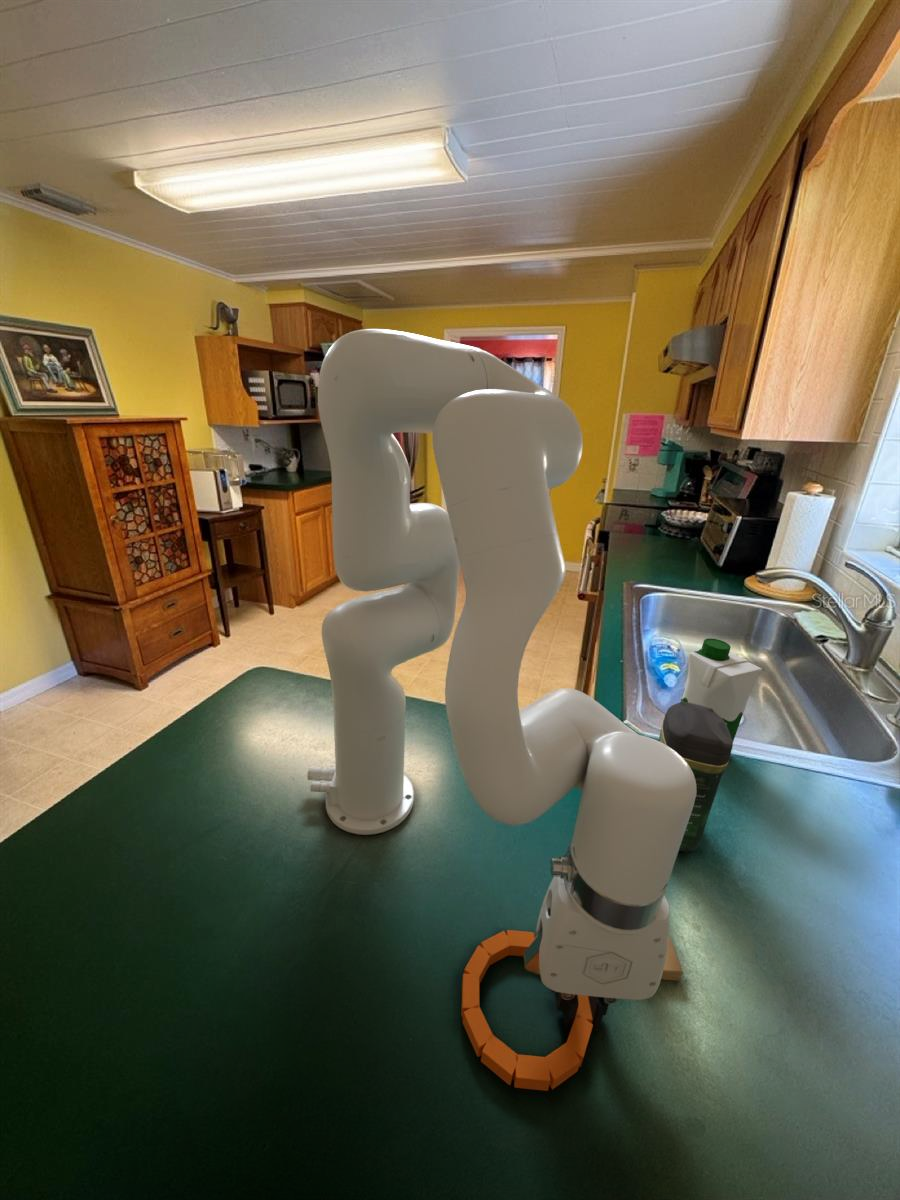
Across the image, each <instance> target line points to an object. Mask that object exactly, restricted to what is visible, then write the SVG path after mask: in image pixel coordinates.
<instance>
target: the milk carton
mask: <svg viewBox="0 0 900 1200" xmlns="http://www.w3.org/2000/svg"><path fill="white" fill-rule="evenodd" d="M687 671H688V673H687V677H686V680H685V684H684V688H683V692H682V695H681V699H680V702H682V701H683V702H688V703H693V704H697V705H702V706H705V707H709V708H712V709H713V711H714V712H715V713H717V714H718V715H719V716H720V717H721V718H722V719H723V720H724V722H725V723H726V725H727V727H728V730H729V732H730V735H731V738H732V743H733V744H734V741H735V738H736V735H737V733H738V730H739V726H740V723H741V721H742V719H743V715H744V713H745V709H746V707H747V704H748V701H749V698H750V695H751V693H752V691H753V688H754V687H755V684H756V683H757V680H758V679H759V677H760V674H761V672H762V671H763V668H762V667H759V666H758V665H756V664H754V663H751V662H749V660H747V659H746V658H744V657H741V656H739V655H737V654H735V653H733V652H731V645H730V644H729V643H728V642H726V641H724V640H721V639H717V638H710V637H708V638H705V639H704V640H703V642H702V646H701V648H700V649H698V650H697V651H692V652H689V653H688V670H687Z"/></svg>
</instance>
